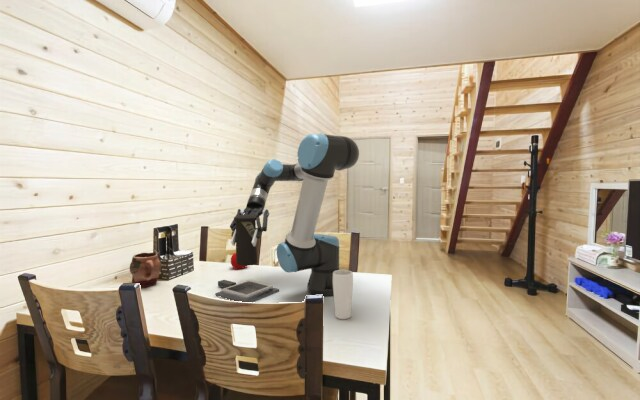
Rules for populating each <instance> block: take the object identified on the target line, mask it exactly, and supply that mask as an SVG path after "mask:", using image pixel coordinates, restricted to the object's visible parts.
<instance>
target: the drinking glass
mask: <svg viewBox="0 0 640 400" xmlns="http://www.w3.org/2000/svg"><path fill="white" fill-rule="evenodd" d="M353 287H354V274H353V271H351V270H349V269H339V270H336V271H334V272H333V294H334V295H333V302H334V303H333V305H334V316H335V318H336V319H338V320H348V319H349V318H351V316H352V304H353V303H352V302H353Z"/></svg>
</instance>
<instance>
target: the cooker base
mask: <svg viewBox="0 0 640 400" xmlns="http://www.w3.org/2000/svg"><path fill="white" fill-rule="evenodd" d="M217 287H221V290H220V291H218V292H215V295H216V296H215V295H214V296H215V297H218V296H221V297H222V298H221V297H220V298H221V299H225V298H227V299H226V300H228V301H231V300H234V301H242V302H252V303H255V302H258V301H259V300H262V299H264V298H265V299H266V298H267V297H269V296H271V295H274V294H276V293H279V292H280V288H276V287H274V285H272V284H271V285H270V284H267V283H263V282H258V281H255V280H254V281H253V280H251V279H249V280H245V281H241V282H239V283H236V282H235V281H231V280H226V279H221V280H218V281H217ZM229 299H230V300H229ZM234 301H233V302H234Z"/></svg>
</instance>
